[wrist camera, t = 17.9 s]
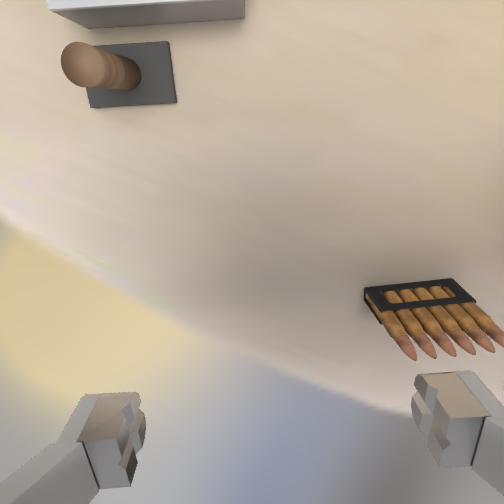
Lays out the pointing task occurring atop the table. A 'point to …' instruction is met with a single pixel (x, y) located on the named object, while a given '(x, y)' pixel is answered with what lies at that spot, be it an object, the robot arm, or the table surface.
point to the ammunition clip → (432, 316)
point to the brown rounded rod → (99, 68)
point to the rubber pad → (152, 77)
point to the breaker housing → (145, 11)
